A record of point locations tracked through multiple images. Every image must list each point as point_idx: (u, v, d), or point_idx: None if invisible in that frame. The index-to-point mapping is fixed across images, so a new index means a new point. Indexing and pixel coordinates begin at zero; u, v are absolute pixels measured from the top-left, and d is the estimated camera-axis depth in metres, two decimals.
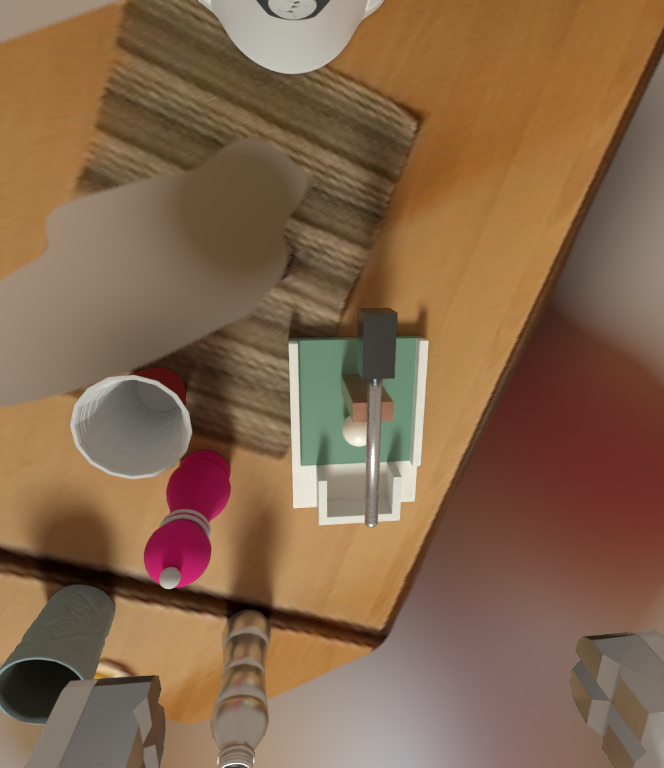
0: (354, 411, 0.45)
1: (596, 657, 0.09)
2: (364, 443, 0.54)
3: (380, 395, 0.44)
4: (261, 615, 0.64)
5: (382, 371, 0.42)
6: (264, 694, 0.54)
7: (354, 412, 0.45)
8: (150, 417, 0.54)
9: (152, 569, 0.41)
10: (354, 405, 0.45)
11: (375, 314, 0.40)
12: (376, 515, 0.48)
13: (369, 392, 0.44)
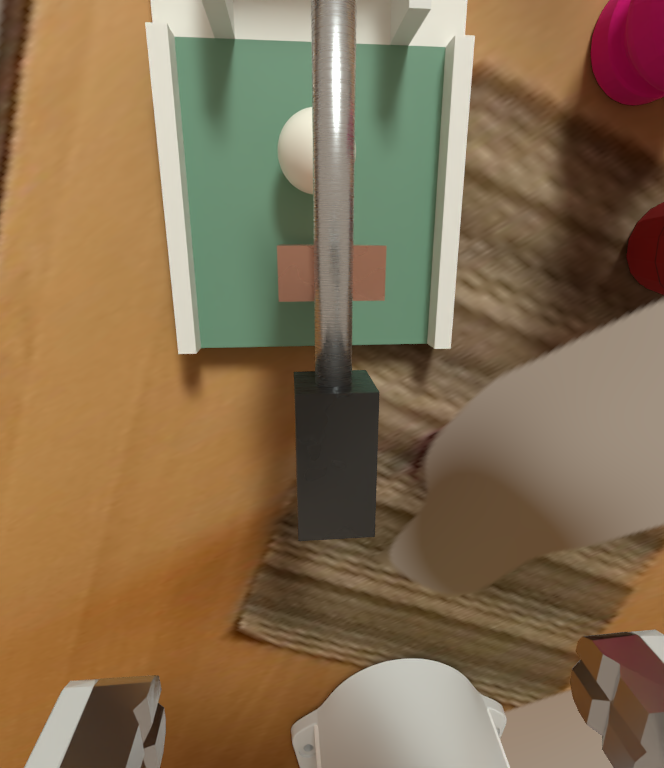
0: (381, 277, 0.17)
1: (596, 656, 0.09)
2: (309, 120, 0.22)
3: (322, 334, 0.17)
4: None
5: (327, 412, 0.16)
6: None
7: (381, 274, 0.17)
8: None
9: None
10: (381, 294, 0.17)
11: (348, 535, 0.18)
12: None
13: (350, 340, 0.17)
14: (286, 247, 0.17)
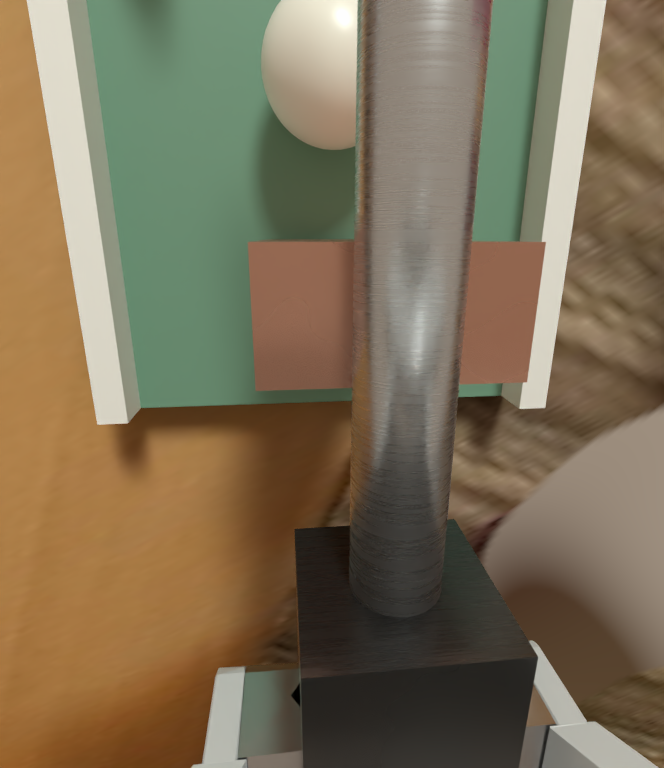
0: (525, 325, 0.07)
1: None
2: None
3: (376, 489, 0.06)
4: None
5: (392, 712, 0.06)
6: None
7: (526, 317, 0.07)
8: None
9: None
10: (520, 367, 0.07)
11: None
12: None
13: (448, 497, 0.06)
14: (275, 247, 0.06)
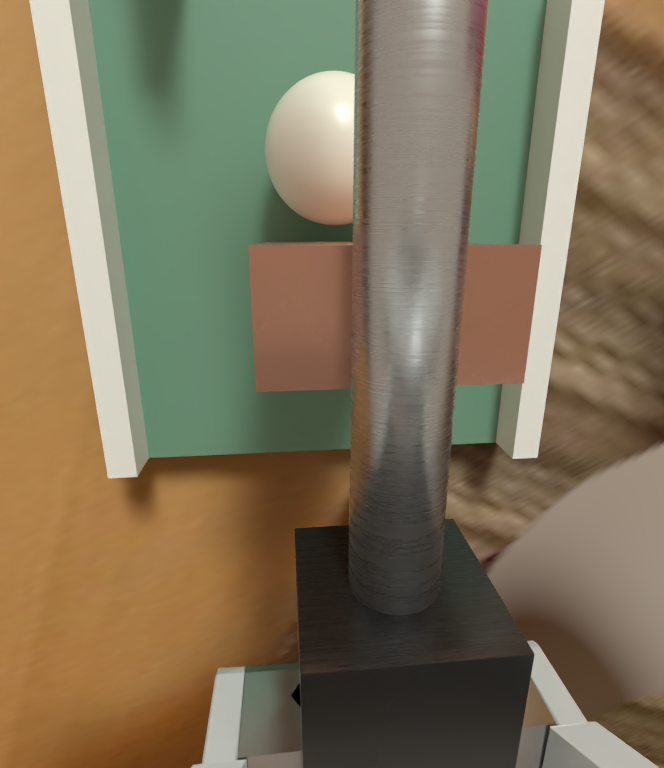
0: (522, 326, 0.07)
1: None
2: (322, 93, 0.12)
3: (375, 489, 0.06)
4: None
5: (391, 708, 0.06)
6: None
7: (522, 319, 0.07)
8: None
9: None
10: (517, 368, 0.07)
11: None
12: None
13: (445, 497, 0.06)
14: (275, 250, 0.06)
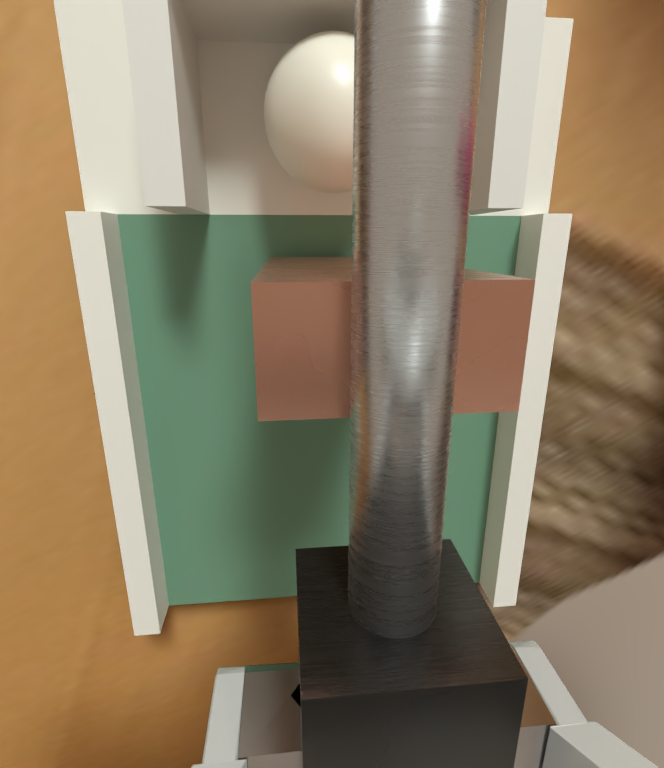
0: (516, 357, 0.07)
1: None
2: None
3: (373, 517, 0.06)
4: None
5: (389, 731, 0.06)
6: None
7: (517, 350, 0.07)
8: None
9: None
10: (512, 397, 0.07)
11: None
12: None
13: (442, 524, 0.07)
14: (276, 286, 0.06)
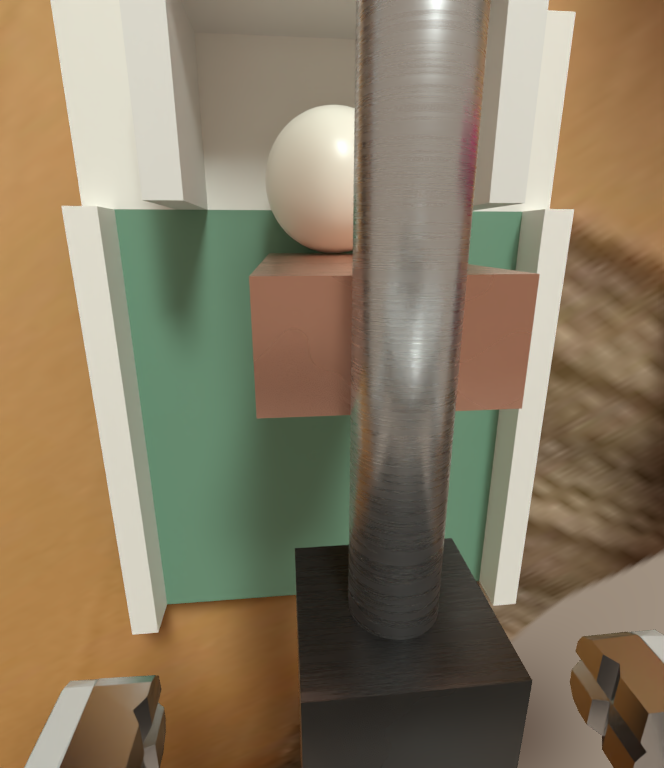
0: (520, 353, 0.07)
1: (596, 657, 0.09)
2: None
3: (374, 516, 0.06)
4: None
5: (390, 734, 0.06)
6: None
7: (520, 346, 0.07)
8: None
9: None
10: (515, 393, 0.07)
11: None
12: None
13: (444, 523, 0.06)
14: (275, 280, 0.06)
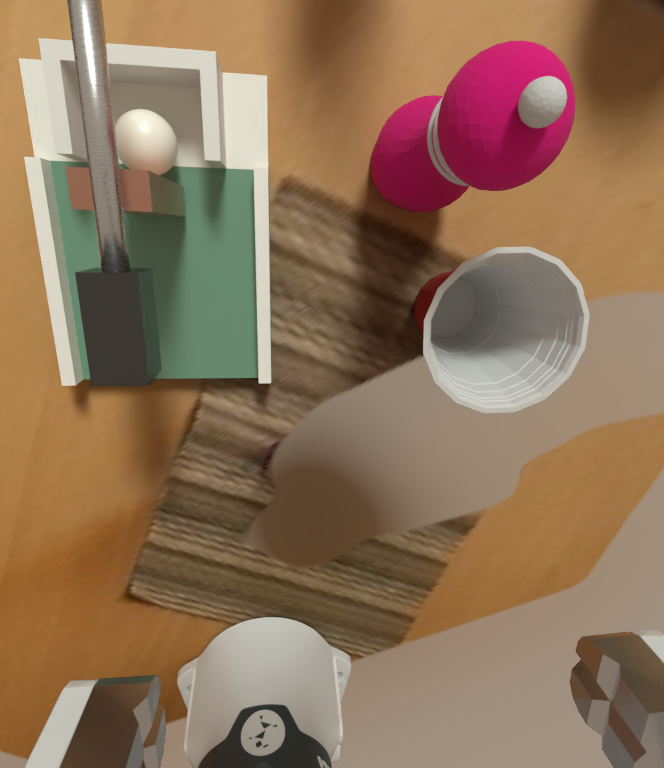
0: (147, 194, 0.24)
1: (595, 657, 0.09)
2: None
3: (99, 231, 0.23)
4: None
5: (101, 286, 0.23)
6: None
7: (147, 191, 0.24)
8: (469, 276, 0.38)
9: (565, 116, 0.20)
10: (149, 206, 0.24)
11: (128, 383, 0.25)
12: None
13: (121, 238, 0.24)
14: (73, 168, 0.23)
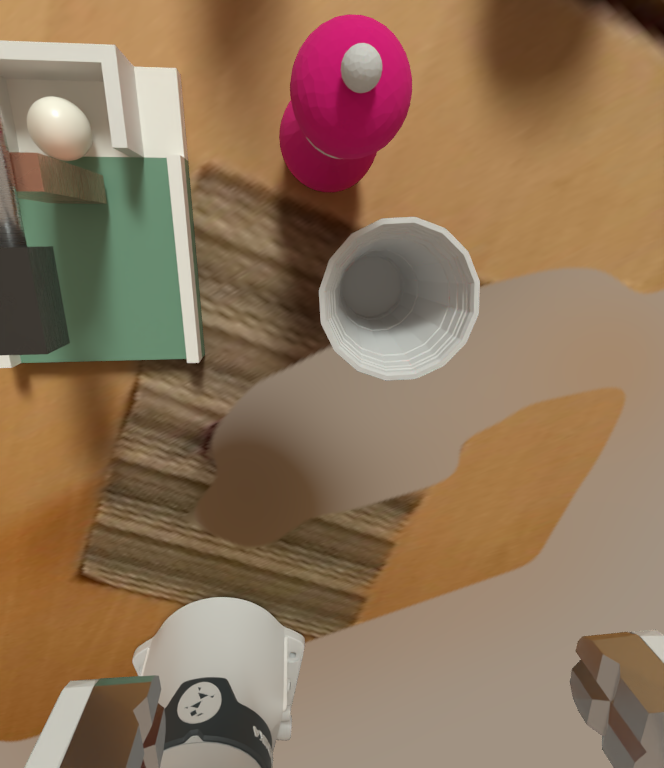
0: (38, 174, 0.26)
1: (596, 656, 0.09)
2: None
3: None
4: None
5: None
6: None
7: (38, 172, 0.26)
8: (388, 255, 0.39)
9: (394, 82, 0.21)
10: (40, 186, 0.26)
11: (28, 353, 0.27)
12: None
13: (14, 215, 0.26)
14: None
